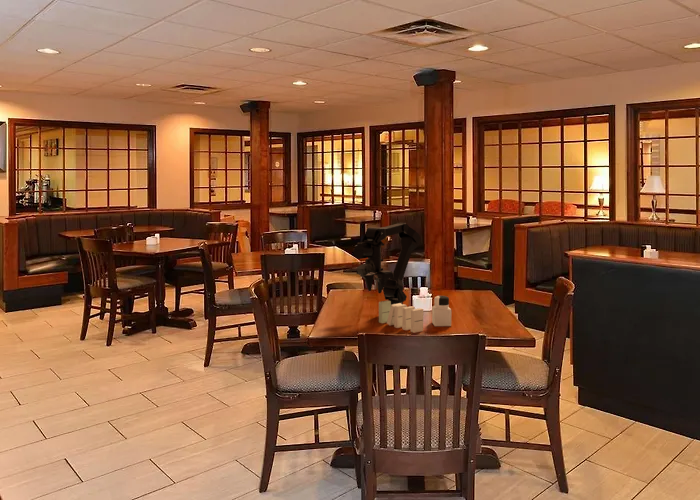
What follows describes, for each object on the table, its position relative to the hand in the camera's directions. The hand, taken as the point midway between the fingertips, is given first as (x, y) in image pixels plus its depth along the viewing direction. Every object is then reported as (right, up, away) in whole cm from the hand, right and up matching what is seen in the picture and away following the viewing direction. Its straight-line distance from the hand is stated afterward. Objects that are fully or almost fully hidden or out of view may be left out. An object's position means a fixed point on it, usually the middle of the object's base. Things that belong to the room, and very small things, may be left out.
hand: (374, 292), depth 271 cm
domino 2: (+10, -14, -12) cm, 21 cm away
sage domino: (+4, -13, -4) cm, 14 cm away
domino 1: (+7, -13, -8) cm, 17 cm away
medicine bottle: (+28, -13, -9) cm, 32 cm away
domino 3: (+13, -14, -16) cm, 25 cm away
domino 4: (+16, -15, -20) cm, 29 cm away
